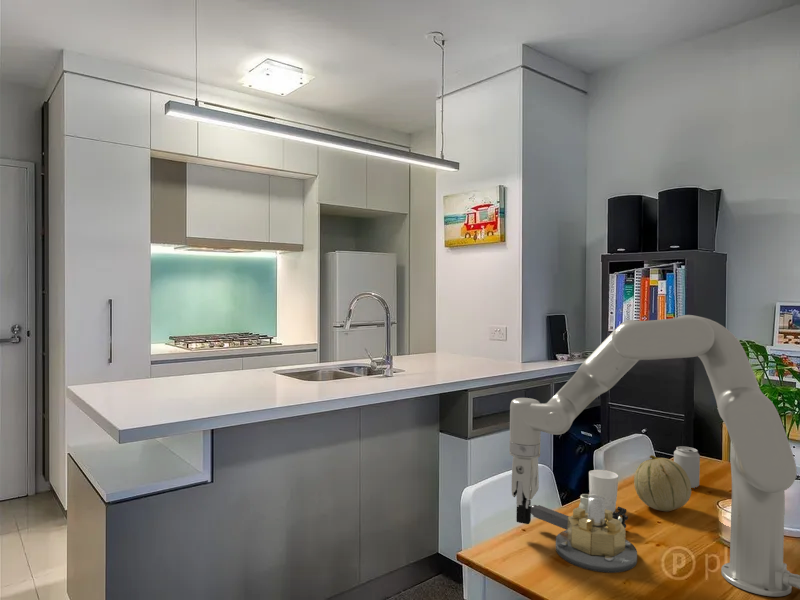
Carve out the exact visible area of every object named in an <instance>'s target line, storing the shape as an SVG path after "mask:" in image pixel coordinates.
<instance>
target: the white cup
mask: <svg viewBox="0 0 800 600" xmlns="http://www.w3.org/2000/svg"><path fill="white" fill-rule="evenodd" d="M618 487H619V474H618V473H616V472H614V471H610V470H606V469H593V470H589V471H588V490H589V492H588V495H597V496H601V497H603V498H605V509H607V510H610V511H613V512H616V510H617V508H616V506H617V497H618V489H619V488H618Z"/></svg>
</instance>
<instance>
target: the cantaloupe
mask: <svg viewBox="0 0 800 600" xmlns="http://www.w3.org/2000/svg"><path fill="white" fill-rule="evenodd" d="M633 475H634V476H633V483H634V489H635V491H636V494H637V496H638V498H639V499H640V501H642V503H644V504H645V505H646V507H647V506H648V507H650V508H651V509H654V510H656V511H661V512H671V511H674V510H678V509H679V508H682V507H684V506H685V505H686V504H687V503H688V502H689V500H690V498H691V495H692V489H691V483H690V479H689V477H688V476H687V474H686V472H685V470H684V469H683V468H682V467H681V466H680V465H679V464H677V463H676V462H674V460H672V459H669V458H665V457H657V456H655V455H653V454H651V455H649V458H648V459H646V460H644V461H642V462H641V463H640V464H639V465H638V467H637V469H636V470H635V472H634V474H633Z"/></svg>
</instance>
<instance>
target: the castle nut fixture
mask: <svg viewBox="0 0 800 600" xmlns="http://www.w3.org/2000/svg"><path fill="white" fill-rule="evenodd" d="M530 506H531V516H533V518H536V519H538V520H542V521H543V522H546V523H549V524H551V525H554V526H557V527H559V528H561V529H564V530H567V538H568V540H569V542H570V544H571V546H572V547H574V548H576V549H578V550H581V551H583V552H585V553H588V554H590V555H602V556H615V555H617V554H619V553H621V552H623V551H624V550H625V539H626V528H624V526H623V525H622V524H621V522H620V521H619V520H617V519H614V518H612V514H613V511H610V510H607V509H605V527H604V528H599V527H592V521H591V520H589V519H587V518H588V513H585V510H584V509H581V508H579V506H578V507H575V508H573V510H572V515H571V516H569V515H568V514H564V513H561V512H558V511H556V510H553V509H551V508H548V507H545V506H542V505H537V504H532V505H530Z"/></svg>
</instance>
